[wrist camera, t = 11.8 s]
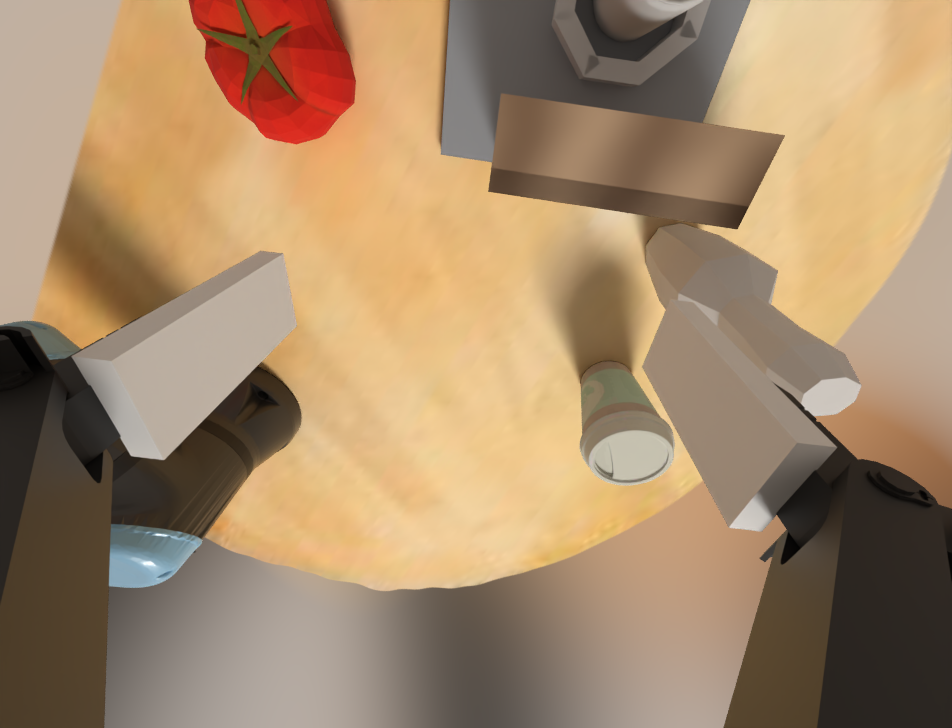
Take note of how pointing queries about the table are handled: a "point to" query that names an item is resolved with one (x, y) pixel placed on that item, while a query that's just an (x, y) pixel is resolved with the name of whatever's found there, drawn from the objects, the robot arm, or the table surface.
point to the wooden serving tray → (628, 161)
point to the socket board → (547, 76)
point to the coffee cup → (622, 428)
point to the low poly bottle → (749, 314)
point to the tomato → (278, 63)
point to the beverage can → (636, 16)
